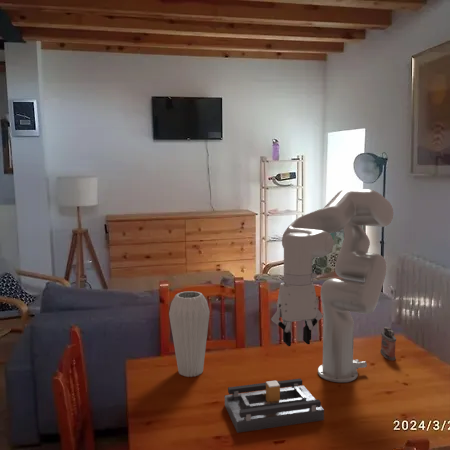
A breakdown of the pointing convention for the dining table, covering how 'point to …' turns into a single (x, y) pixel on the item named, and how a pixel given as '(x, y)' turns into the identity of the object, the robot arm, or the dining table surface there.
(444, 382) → the dining table surface
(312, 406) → the pair of grey rails
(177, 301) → the vase
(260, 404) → the panel
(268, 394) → the block
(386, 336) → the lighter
